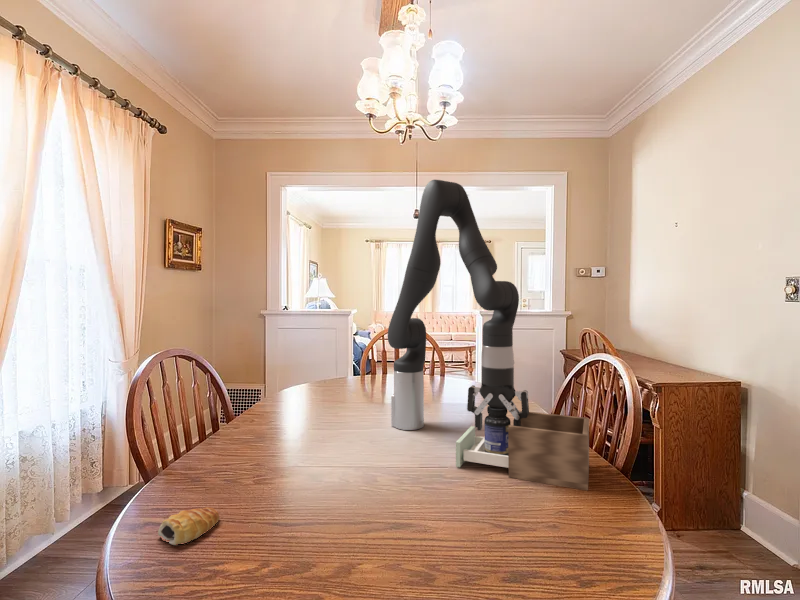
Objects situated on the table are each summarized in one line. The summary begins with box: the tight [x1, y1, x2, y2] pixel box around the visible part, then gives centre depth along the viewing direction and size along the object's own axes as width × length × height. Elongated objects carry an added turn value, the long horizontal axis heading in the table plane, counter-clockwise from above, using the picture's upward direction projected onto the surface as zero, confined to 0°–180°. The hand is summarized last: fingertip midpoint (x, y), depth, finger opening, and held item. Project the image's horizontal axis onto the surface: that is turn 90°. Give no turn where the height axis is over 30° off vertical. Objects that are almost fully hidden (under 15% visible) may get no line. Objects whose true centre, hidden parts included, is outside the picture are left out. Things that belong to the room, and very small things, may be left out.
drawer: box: [455, 425, 509, 469], centre depth 101 cm, size 16×14×6 cm
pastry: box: [157, 506, 220, 546], centre depth 73 cm, size 9×7×4 cm
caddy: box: [508, 410, 590, 491], centre depth 96 cm, size 16×14×11 cm
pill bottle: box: [483, 405, 511, 456], centre depth 101 cm, size 6×6×11 cm
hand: (497, 431), depth 101 cm, fingers open, 8 cm apart
